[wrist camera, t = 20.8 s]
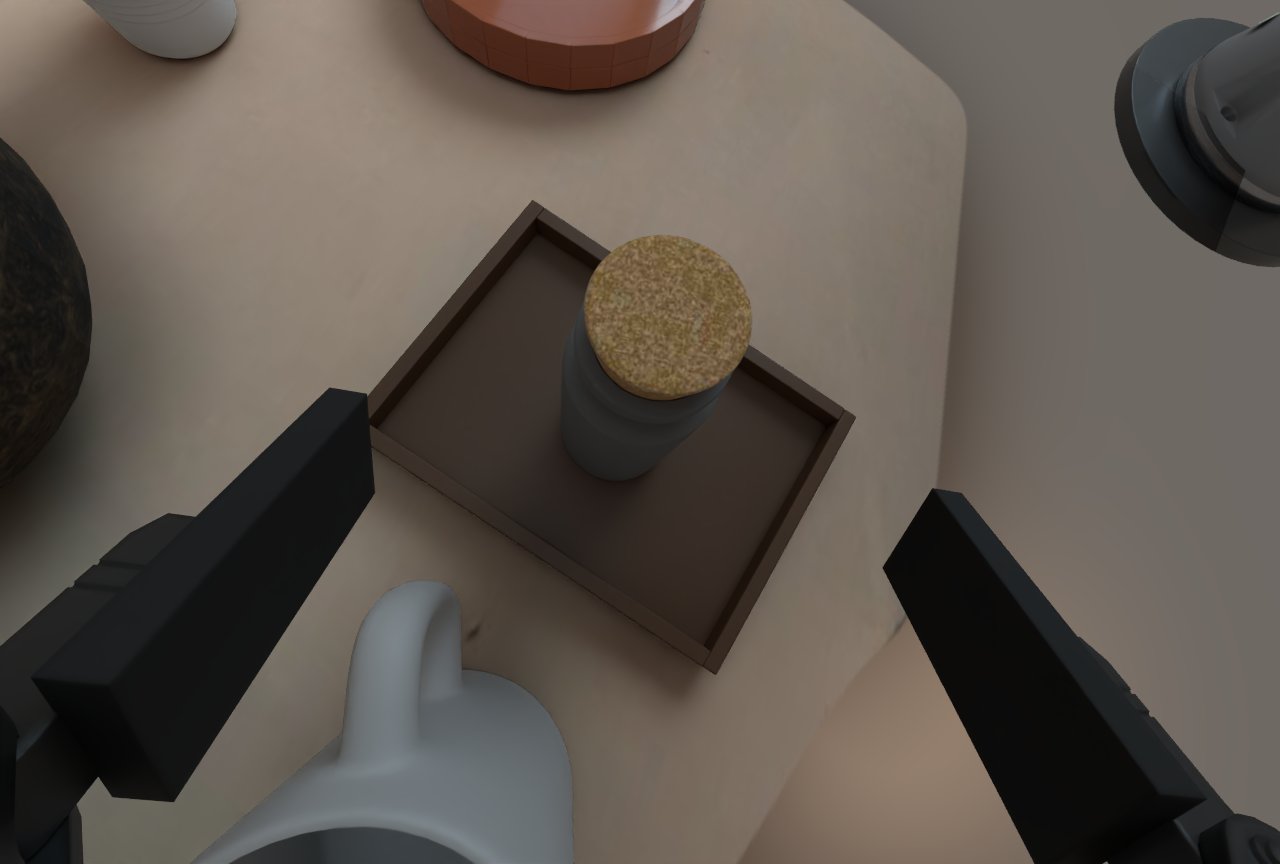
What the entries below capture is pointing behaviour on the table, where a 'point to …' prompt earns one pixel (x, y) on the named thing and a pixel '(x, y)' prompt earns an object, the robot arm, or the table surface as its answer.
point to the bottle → (649, 353)
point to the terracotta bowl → (568, 37)
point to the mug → (419, 760)
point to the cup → (170, 24)
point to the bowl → (37, 315)
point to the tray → (572, 498)
